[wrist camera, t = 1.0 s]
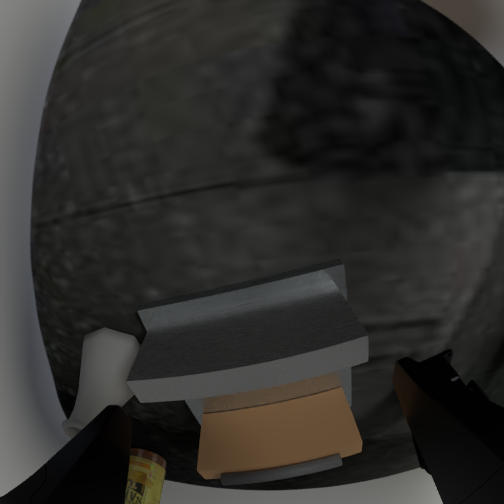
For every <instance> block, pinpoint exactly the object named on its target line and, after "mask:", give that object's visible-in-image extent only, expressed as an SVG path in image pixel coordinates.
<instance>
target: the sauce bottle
mask: <svg viewBox="0 0 504 504" xmlns="http://www.w3.org/2000/svg"><path fill="white" fill-rule="evenodd" d="M165 468H166V461H165V460H164V458H162V457H161V456H160V455H159V454H157V453H154V452H152V451H149V450H146V449H141V448H131V449H130V464H129V471H128V479H127V487H126V495H125V504H159V503H160V497H161V492H162V488H163V483H164V478H165Z"/></svg>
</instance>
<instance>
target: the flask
mask: <svg viewBox="0 0 504 504" xmlns="http://www.w3.org/2000/svg"><path fill="white" fill-rule="evenodd" d="M140 347H141V345H140V343H139V342H138V341H137V339H136V338H135V337H134V336H132V335H129V334H125V333H122V332H118V331H115V330H112V329H108V328H102V329H99V330H97V331H94V332H91V333H88V334H86V335H84V341H83V350H82V361H81V371H80V380H79V391H78V395H77V399H76V403H75V407H74V410H73V412H72V414H71V416H70V418H69V420H65V421H64V422H63V423H62V426H63V429H64V431H65V433H66V434H67V435H68V436H69V437H70V438H71V439H72V438H73V437H74V436H76V435H77V434H78V433H79V432H80V431H81V430H82V429H83V428H84V427H85V426H86V425H87V424H88V423H89V422H91V421H92V420H93V419H94V418H95V417H96V416H97V415H98V414H99V413H100V412H101V411H102V410H103V409H104V408H105V407H106V406H108V405H119V406H121V407H122V406H123V405H124V404H125V403H126V402H127V401H128V400H129V399H130V398H131V397H132V396H134V395H135V394H134V393H133V391H132V390H131V388H130V387H129V385H128V384H127V382H126V380H127V377H128V375H129V372H130V370H131V368H132V365H133V363H134V361H135V358H136V356H137V354H138V351H139V349H140Z"/></svg>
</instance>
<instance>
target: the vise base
mask: <svg viewBox="0 0 504 504" xmlns="http://www.w3.org/2000/svg"><path fill="white" fill-rule="evenodd" d="M137 312H138V314H139V316H140V318H141V320H142V322H143V324H144V326H145V328H146V331H147V333H146V336H145V338H144V340H143V342H142V345H141V347H140V349H139V351H138V354H137V356H136V358H135V361H134V363H133V365H132V368H131V370H130V372H129V375H128V377H127V380H126V382H127V384H128V385H129V387H130V388H131V390H132V391H133V393H134V394H135V395H136V397H137V398H138V400H139V401H140V403H146V402H164V401H177V400H185V402H186V403H187V405H188V406H189V408H190V410H191V411H192V413H193V414H194V416H195V417H196V419H197V421H198V422H199V424H200V425H201V424H202V415H203V414H209V413H218V412H226V411H233V410H240V409H247V408H253V407H259V406H264V405H270V404H275V403H280V402H284V401H289V400H294V399H298V398H302V397H306V396H311V395H315V394H318V393H322V392H326V391H330V390H333V389H337V388H340V387H342V388H343V391H344V394H345V396H346V399H347V401H348V404H349V407H350V406H351V367H352V366H355V365H358V364H361V363H364V362H367V361H368V334H367V332H366V331H365V329H364V327H363V326H362V324H361V323H360V321H359V320H358V318H357V316H356V315H355V313H354V312H353V310H352V309H351V307H350V306H349V304H348V302H347V291H346V280H345V271H344V264H343V263H342V262H341V260H340V259H338V260H334V261H330V262H326V263H323V264H319V265H314V266H310V267H306V268H302V269H298V270H294V271H290V272H286V273H282V274H277V275H273V276H269V277H265V278H261V279H256V280H252V281H248V282H243V283H239V284H234V285H230V286H226V287H221V288H217V289H212V290H207V291H203V292H198V293H194V294H189V295H184V296H180V297H175V298H170V299H165V300H160V301H156V302H151V303H146V304H141V305H140V307H139V308H138V310H137Z"/></svg>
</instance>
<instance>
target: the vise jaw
mask: <svg viewBox="0 0 504 504" xmlns="http://www.w3.org/2000/svg"><path fill="white" fill-rule="evenodd" d="M362 443H363V442H362V439H361V436H360V433H359V431H358V428H357V425H356V423H355V420H354V417H353V415H352V412H351V409H350V407H349V404H348V401H347V399H346V396H345V394H344V391H343V388H342V387H340V388H337V389H333V390H330V391H326V392H322V393H318V394H315V395H311V396H306V397H302V398H298V399H294V400H289V401H284V402H280V403H275V404H270V405H264V406H259V407H253V408H247V409H240V410H233V411H226V412H218V413H209V414H203V415H202V424H201V434H200V444H199V454H198V465H197V471H198V472H199V473H200V474H201V475H202V476H203V477H204V478H205V479H217V478H221V483H222V485H236V484H248V483H257V482H265V481H272V480H279V479H285V478H290V477H296V476H301V475H306V474H310V473H315V472H319V471H323V470H327V469H331V468H335V467H338V466H342V459H341V458H343V457H346V456H350V455H353V454H356V453H359V452H361V451H362Z"/></svg>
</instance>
